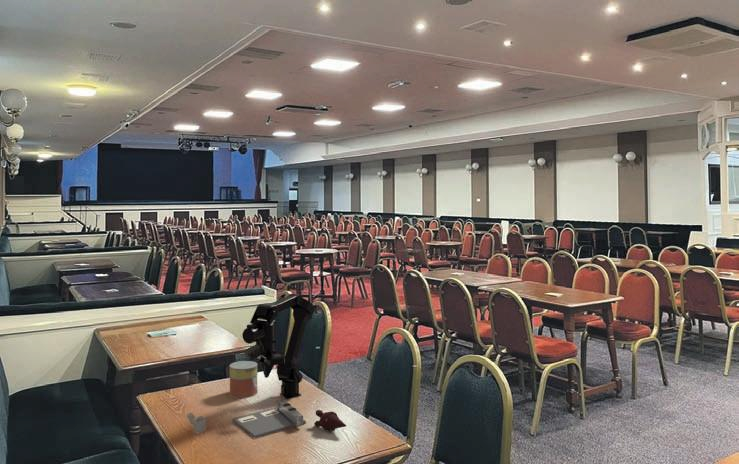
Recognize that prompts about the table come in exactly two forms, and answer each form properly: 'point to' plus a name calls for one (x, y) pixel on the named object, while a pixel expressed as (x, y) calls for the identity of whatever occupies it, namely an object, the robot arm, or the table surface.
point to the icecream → (328, 421)
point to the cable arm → (290, 412)
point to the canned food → (243, 379)
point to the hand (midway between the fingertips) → (266, 377)
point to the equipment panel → (264, 422)
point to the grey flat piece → (197, 423)
